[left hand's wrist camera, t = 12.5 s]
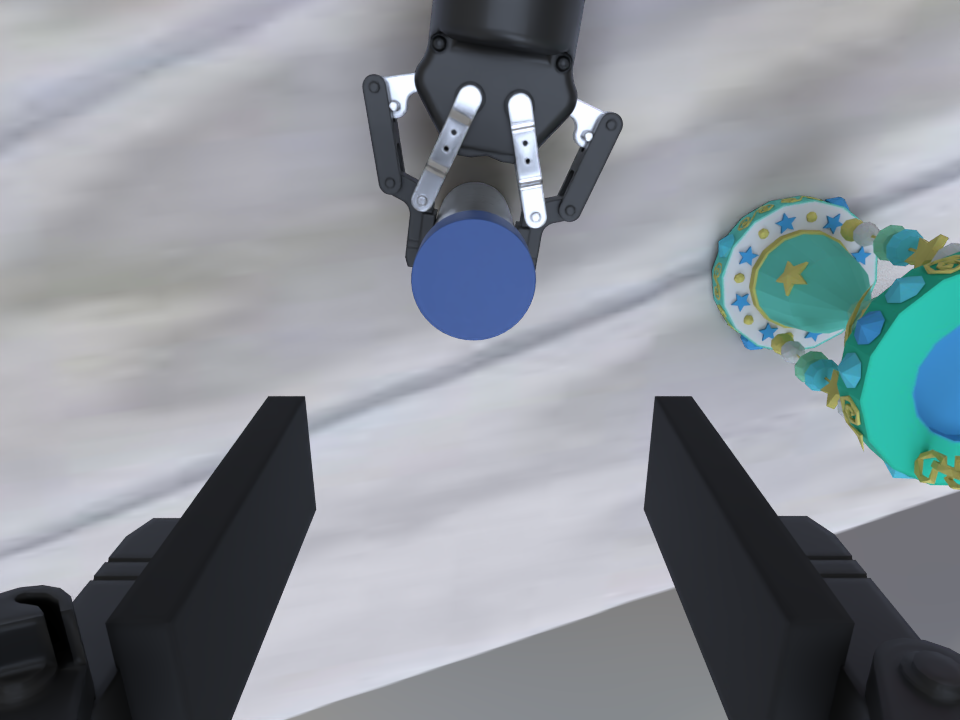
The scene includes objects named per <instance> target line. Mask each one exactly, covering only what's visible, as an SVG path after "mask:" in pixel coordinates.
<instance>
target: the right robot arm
mask: <svg viewBox="0 0 960 720" xmlns="http://www.w3.org/2000/svg"><path fill="white" fill-rule="evenodd" d="M584 2H585V0H433V5H432V14H431V23H430V32H429V41H428V47H427V50H426V53H425V55H424V57H423V59H422V60H421V62H420V63H419V65H418V66H417V68H416V71H415V73H410V74H402V75H395V76H387V77H383V76H379V75H376V74H372V75H369V76H367V77H366V78H365V80H364V81H363V93H364V99H365V105H366V111H367V117H368V123H369V129H370V135H371V140H372V146H373V152H374V158H375V164H376V170H377V176H378V181H379V186H380V189H381V190H382V191H383V192H384V193H386V194H390V195H393V196H395V197H397V198H398V199H400V200H402V201H404V202H405V203H406V204H407V206H408V207H409V210H410V219H409V228H408V238H407V247H406V256H405V258H406V261H407V265H408V266H409V267H413V263H414V260H415V257H416V255H417V252H418V250H419V247H420V245H421V243H422V241H423V239H424V237H425V236H426V234H427V233H428V232H429V230H430V229H431V228H432V227H433V226H434V225H435V222H436V217H437V209H434V205H435V199H436V197H437V195H438V193H439V190H440V188H441V186H442V184H443V182H444V180H445V178H446V176H447V174H448V172H449V169H450V167H451V165H452V163H453V161H454V159H455V157H456V155H460V156H467V157H477V156H489V157H492V158H494V159H496V160H498V161H501V162H506V163H513V164H514V167H515V173H516V179H517V184H518V190H519V197H520V203H521V216H520V222H518V221H516V224H515V228H516V229H517V230H518V231H519V232H520V234H521V235H522V237H523V238H524V240H525V242H526V244H527V246H528V249H529V252H530V255H531V257H532V260H533V264H534V268H535V269H536V263H537V258H538V252H539V246H540V241H541V235H542V232H543V230H544V229H545V227H547V226H548V225H549V224H552V223H556V222H561V221H567V222H572V221H575V220H576V219H578V218H579V216H580V214H581V212H582V210H583V208H584V206H585V204H586V202H587V200H588V198H589V196H590V194H591V192H592V190H593V188H594V185H595V183H596V181H597V179H598V177H599V175H600V173H601V171H602V169H603V167H604V165H605V163H606V161H607V159H608V157H609V155H610V153H611V150H612V148H613V146H614V144H615V142H616V140H617V138H618V136H619V134H620V132H621V130H622V127H623V121H622V119H621V117H620V116H619V115H618V114H616V113H613V112H604V111H602V110H600V109H598V108H596V107H594V106H592V105H590V104H588V103H585V102H583V101H581V100H579V99H577V90H576V87H575V84H574V80H573V64H574V58H575V53H576V47H577V41H578V36H579V30H580V25H581V19H582V14H583V8H584ZM416 92H418V94H419V96H420V98H421V100H422V102H423V104H424V106H425V107H426V109H427V111H428V113H429V115H430V117H431V119H432V121H433V123H434V125H435V127H436V129H437V131H438V133H439V137H438V139H437V141H436V144H435V146H434V148H433V150H432V152H431V155H430V157H429V159H428V161H427V163H426V166H425V168H424V170H423V173H422V175H421V177H420V179H419V180H417V179H416V178H414V177H412V176H410V175H408V174H406V173H405V169H404V162H403V156H402V150H401V143H400V137H399V130H398V124H397V118H400V117H403V116H404V115H405V114H406V112H407V110H408V101H409V98H410V97H411V95H412V94H414V93H416ZM569 116H570V117H571V118H572V119H573V121H574V124H575V129H574V132H573V139H574V141H575V143H576V144H577V145H579V146H580V148H579V151H578V153H577V155H576V157H575V159H574V161H573V163H572V166H571V168H570V170H569V172H568V174H567V176H566V178H565V180H564V183H563V185H562V187H561V189H560V191H559V193H558V195H557V196H554V197H549V198H544V193H543V186H542V174H541V167H540V160H539V153H538V148H539V147H540V146H541V145H542V144H543V143H544V142H545V141H546V140H547V139H548V138H549V137H550V136H551V135H552V134H553V133H554V132H555V131H556V130H557V128H558V127H559V126H560V125H561V124H562V123H563V122H564V121H565V120H566V119H567V118H568V117H569Z"/></svg>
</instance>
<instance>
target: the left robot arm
mask: <svg viewBox="0 0 960 720" xmlns="http://www.w3.org/2000/svg"><path fill="white" fill-rule="evenodd" d="M315 511H316V503H315V493H314V482H313V472H312V462H311V452H310V442H309V432H308V422H307V412H306V402H305V396H268V398H267V399H266V400H265V402H264V403H263V405H262V406H261V407H260V409H259V410H258V411H257V413H256V414H255V416H254V417H253V418H252V420H251V421H250V423H249V424H248V425H247V427H246V428H245V430H244V431H243V432H242V434H241V435H240V436H239V438H238V439H237V441H236V442H235V443H234V445H233V446H232V448H231V449H230V450H229V452H228V453H227V454H226V456H225V457H224V459H223V460H222V461H221V463H220V464H219V466H218V467H217V468H216V470H215V471H214V473H213V474H212V475H211V477H210V478H209V479H208V481H207V482H206V484H205V485H204V486H203V488H202V489H201V491H200V492H199V493H198V495H197V496H196V497H195V499H194V500H193V502H192V503H191V504H190V506H189V507H188V509H187V510H186V511H185V513H184V514H183V516H182V517H181V518H153V519H151V520H150V521H148V522H147V523H146V524H144V525H143V526H141V527H140V528H138V529H137V530H135V531H134V532H132V533H131V534H129V535H128V536H126V537H125V538H124V540H123V541H122V542H121V543H120V545H119V546H118V547H117V548H116V550H115V551H114V552H113V553H112V554H111V556H110V557H109V560H108V562H105V563H104V564H103V565H102V567H101V568H100V569H99V570H98V572H97V573H96V574H95V575H94V580H93V581H89V583H88V584H87V585H86V586H85V588H84V589H83V590H82V591H81V592H80V594H79V595H78V596H77V597H76V599H75V600H74V601H73V602H72V599H71V596H70V595H68V594H67V593H66V592H65V591H63V590H62V589H61V588H57V587H51V586H45V585H39V586H30V587H20V588H16V589H13V590H10V591H7V592H3V593H0V720H232V717H233V715H234V712H235V710H236V707H237V705H238V702H239V700H240V697H241V695H242V692H243V690H244V687H245V685H246V682H247V680H248V677H249V675H250V672H251V670H252V667H253V665H254V662H255V660H256V658H257V655H258V653H259V650H260V648H261V645H262V643H263V640H264V638H265V635H266V633H267V630H268V628H269V625H270V623H271V620H272V618H273V615H274V613H275V610H276V608H277V605H278V603H279V600H280V598H281V595H282V593H283V591H284V588H285V586H286V583H287V581H288V578H289V576H290V573H291V571H292V568H293V566H294V563H295V561H296V558H297V556H298V553H299V551H300V548H301V546H302V543H303V541H304V538H305V536H306V533H307V531H308V528H309V526H310V523H311V521H312V519H313V516H314V514H315ZM644 511H645V514H646V516H647V519H648V521H649V523H650V526H651V528H652V531H653V533H654V536H655V538H656V541H657V543H658V546H659V548H660V551H661V553H662V556H663V558H664V561H665V563H666V566H667V568H668V571H669V573H670V576H671V578H672V581H673V583H674V586H675V588H676V591H677V593H678V595H679V598H680V600H681V603H682V605H683V608H684V610H685V613H686V615H687V618H688V620H689V623H690V625H691V628H692V630H693V633H694V635H695V638H696V640H697V643H698V645H699V648H700V650H701V653H702V655H703V658H704V660H705V662H706V665H707V667H708V670H709V672H710V675H711V677H712V680H713V682H714V685H715V687H716V690H717V692H718V695H719V697H720V700H721V702H722V705H723V707H724V710H725V712H726V715H727V717H728V719H729V720H960V654H958V653H957V652H955V651H953V650H951V649H949V648H946V647H943V646H941V645H938V644H935V643H932V642H929V641H926V640H921V639H920V638H919V637H918V636H917V634H916V633H915V632H914V631H913V630H912V628H911V627H910V626H909V625H908V623H907V622H906V621H905V620H904V619H903V617H902V616H901V615H900V614H899V612H898V611H897V610H896V609H895V608H894V606H893V605H892V604H891V603H890V601H889V600H888V599H887V598H886V597H885V595H884V594H883V593H882V592H881V591H880V589H879V588H878V587H877V586H876V584H875V583H874V582H873V581H872V580H871V578H867V574H866V572H865V571H864V570H863V569H862V567H861V566H860V565H859V564H858V563H857V561H856V560H852V555H851V554H850V553H849V552H848V550H847V549H846V548H845V547H844V545H843V544H842V543H841V542H840V541H839V539H838V538H837V537H836V536H835V534H833V533H832V532H830V531H829V530H827V529H826V528H824V527H823V526H821V525H820V524H818V523H817V522H815V521H814V520H812V519H811V518H809V517H808V516H777V514H776V513H775V511H774V510H773V509H772V507H771V506H770V504H769V503H768V502H767V500H766V499H765V497H764V496H763V495H762V493H761V492H760V491H759V489H758V488H757V486H756V485H755V484H754V482H753V481H752V479H751V478H750V477H749V475H748V474H747V473H746V471H745V470H744V468H743V467H742V466H741V464H740V463H739V461H738V460H737V459H736V457H735V456H734V454H733V453H732V452H731V450H730V449H729V448H728V446H727V445H726V443H725V442H724V441H723V439H722V438H721V436H720V435H719V434H718V432H717V431H716V430H715V428H714V427H713V425H712V424H711V423H710V421H709V420H708V418H707V417H706V416H705V414H704V413H703V411H702V410H701V409H700V407H699V406H698V405H697V403H696V402H695V400H694V399H693V398H692V396H655V402H654V412H653V422H652V432H651V442H650V452H649V462H648V472H647V482H646V493H645V503H644Z"/></svg>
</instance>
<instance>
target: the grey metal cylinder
mask: <svg viewBox="0 0 960 720" xmlns="http://www.w3.org/2000/svg"><path fill="white" fill-rule="evenodd" d="M468 210H480V211H486V212H490V213H493V214H496V215H498V216H500V217H502V218H504V219H505V220H507V221H508V222H510V223H511V224H512V225H513V226H514V223H513V220H512V217H511V213H510V210H509V207H508V204H507V202H506V200H505V198H504V197H503V195H502V194H501V193H500V192H499V191H498V190H497V189H495V188H494V187H492V186H490V185H488V184H485V183H481V182H468V183H464V184H461V185H459V186H457V187H456V188H454V189H453V190H452V191H450V192H449V193H448V195H447V196H446V197H445V199H444V200H443V202H442V205H441V208H440V210H439V213H438V216H437V219H436V222H435V224H436V223H438V222H439V221H441V220H442V219H443V218H445V217H447V216H449V215H452V214H454V213H457V212H462V211H468ZM514 227H515V226H514Z"/></svg>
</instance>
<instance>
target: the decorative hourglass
mask: <svg viewBox="0 0 960 720" xmlns="http://www.w3.org/2000/svg"><path fill="white" fill-rule="evenodd" d="M825 201H826V202H825ZM825 201H822V200H821V199H817V198H813V197H808V196H796V197H791V198H785V199H780V200H774V201H769V202H768V203H766V204H764V205H763V206H761V207H759V208H758V209H756V210H754V211H753V212H751V213H749V214H748V215H746V216H744V217H743V218H741V220H740V221H739V222H738V223H737V225H736V226H735V227H734V228H733V229H732V231H731V232H730V233H729V234H728V235H727V236H726V237H724V238H723V239H721V240H720V241H719V252H718V255H717V258H716V261H715V263H714V266H713V269H712V279H713V296H714V300H715V302H716V304H717V307H718V309H719V310H720V312H721V314H722V316H723V317H724V319H725V321H726V322H727V323H728V325H729V326H730V327H731V328H733V329H734V330H735V331H736V332H738V333H740V334H742V335H741V339H742V342H743V344H744V346H745V347H746V348H747V349H749V350H755V349H762V348H767V349H772V350H774V352H776V353H778V354H780V355H781V356H782V357H783V359H784V360H785V361H787V362H790V363H796V362H797V363H796V364H795V376H797V377H798V378H799V379H800V380H801V381H802V382H805V384H806V385H807V386H808V387H809V388H810V389H811V390H814V391H823V392H825V393H828V397H827V406H828V407H830V408H832V409H834V408H835V407H836V406H837V404H838V412H839V413H840V414H841V415H842V416H843V417H844V418H845V420H846V423H847V424H848V425H849V426H850V428H851V429H852V430H853V431H854V432H855V434H856V435H857V436H858V439H859V441H860V444H861V446H862V449H863V451H864V447H863V441H864V442H865V444H866V445H867V446H868V447H869V448H870V449H871V450H872V451H873V452H874V453H875V454H877V455H878V456H879V457H880V458H881V459H882V460H883V461H884V463H885V464H886V466H887V468H888V470H889V471H890V473H891V475H892V477H893V478H914V479H918V480H919V481H920V482H922V483H927V484H930V485H949V487H950V488H952V489H958V490H960V244H956V243H951V244H949V245H947V246H945V247H943V246H944V245H945V243H946V241H947V240H948V237H946V236H943V235H941V234H940V235H939V236H937V237H936V238H934V239H933V240H931V241H930V242H928V241H926V240H924V239H923V237H922V236H921V235H920V234H919V233H918V232H917V230H908V229H904V228H903V227H902V226H895V225H890V226H888V227H886V228H884V229H883V230H881V231H879V229H878V228H877V226H876V225H874V224H872V223H870V222H866V223H863V222H862V221H861V220H860V219H858V218H857V217H856V216H855V215H854V214H852V213H851V212H850V210H849V208H848V206H847V204H846V202H845V199H843V198H842V197H836V198H831V199H826V200H825ZM877 257H878V258H879V259H880V260H887V261H890V262H891V263H892V264H893V265H898V266H906V265H908V264H910V265H914V269H912V270H910V271H909V272H908V273H907V274H905V275H904V276H903V277H902V278H899V279H896V280H895V281H894V283H893V284H892V286H890V287H889V288H888V289H887V290H885V291H884V292H883V293H882V294H880V295H879V296H878V297H876V298H873V299H871V292H872V290H873V288H874V286H875V283H876V281H877ZM845 329H846V331H845V339H844V352H843V357H842V361H841V363H840V364H839V366H838V365H837V364H836V363H835V362H833V361H832V360H828V358H827V357H826V356H825V355H824V354H823V353H822V352H813V351H810V352H808V353H806V354H805V349H809V348H815V347H816V346H818V345H820V344H822V343H824V342H826V341H828V340H830V339H831V338H833V337H835V336H837V335H839V334H841V333H842V332H843V331H844V330H845Z"/></svg>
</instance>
